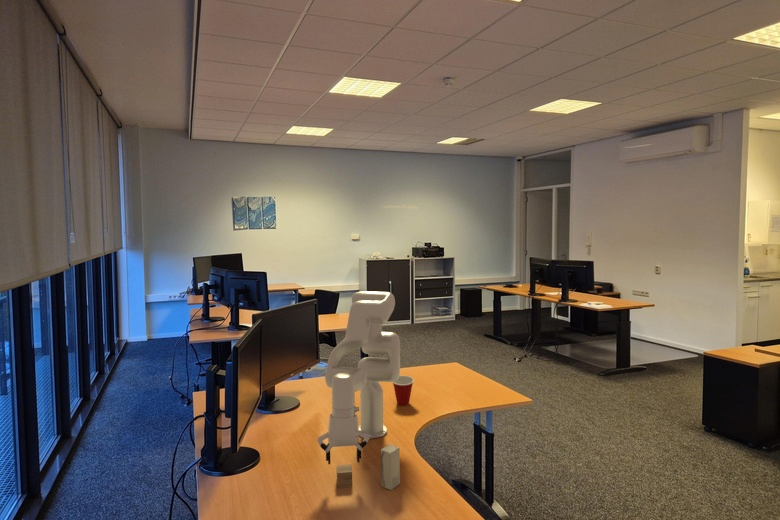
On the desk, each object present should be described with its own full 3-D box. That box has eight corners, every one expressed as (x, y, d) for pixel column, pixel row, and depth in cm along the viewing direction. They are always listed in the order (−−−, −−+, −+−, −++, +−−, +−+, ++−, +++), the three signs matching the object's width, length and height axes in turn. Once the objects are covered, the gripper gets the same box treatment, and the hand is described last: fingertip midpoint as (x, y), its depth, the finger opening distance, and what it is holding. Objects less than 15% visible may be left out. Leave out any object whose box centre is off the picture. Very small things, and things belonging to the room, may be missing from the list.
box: (390, 479, 161) (390, 443, 160) (400, 484, 158) (400, 447, 157) (380, 486, 156) (379, 449, 155) (390, 491, 154) (390, 453, 153)
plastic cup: (389, 406, 224) (389, 382, 224) (394, 398, 235) (394, 374, 234) (411, 408, 222) (411, 383, 221) (416, 400, 232) (415, 376, 231)
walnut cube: (336, 479, 161) (336, 465, 161) (351, 478, 162) (351, 464, 161) (337, 487, 156) (337, 473, 156) (352, 486, 157) (352, 471, 156)
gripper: (368, 405, 162) (368, 454, 163) (317, 408, 159) (317, 458, 160) (370, 414, 154) (370, 465, 155) (317, 416, 152) (317, 468, 153)
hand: (343, 461), depth 158 cm, fingers open, 9 cm apart
